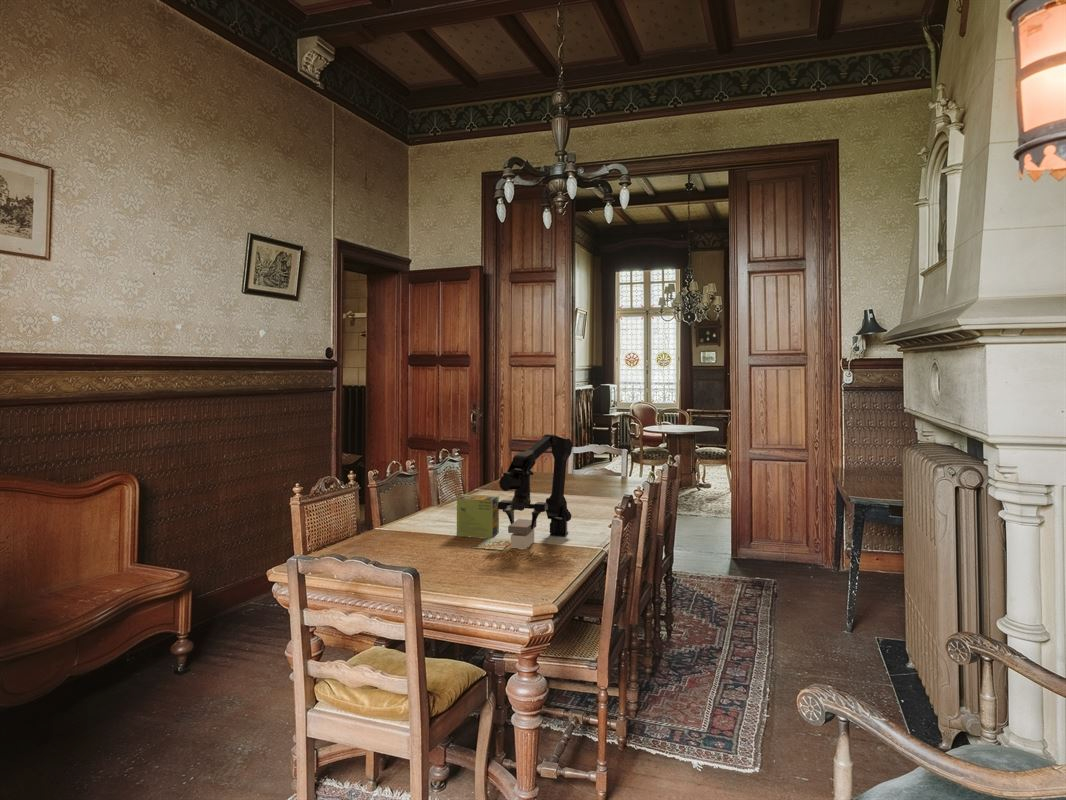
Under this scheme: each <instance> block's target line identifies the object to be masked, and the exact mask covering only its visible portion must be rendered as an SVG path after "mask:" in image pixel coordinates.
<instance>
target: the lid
mask: <svg viewBox="0 0 1066 800" xmlns="http://www.w3.org/2000/svg"><path fill="white" fill-rule="evenodd" d="M531 524H532V519H525V518H523V519H522V518H518V519H516V520H514V522H513V523H512V524H511V523H510V525H507V533H508V534H513V533H517V534H528V533H529V532H530V531H532V530H533V529H534V530H535V528H536V527H537V521H536V522H535V525H534V528H533V529H532V528H531Z"/></svg>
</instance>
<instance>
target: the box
mask: <svg viewBox="0 0 1066 800" xmlns="http://www.w3.org/2000/svg"><path fill="white" fill-rule="evenodd" d="M510 539H511V544H510V549H511V548H523V549H522V550H524V549H526V548H527V547H528V548H529V547H531V546H532V545H533V544H534V543H535V528H534V529H533V530H532V531H530V532H529V533H528V534H517V533H511V534H510ZM533 542H534V543H533ZM532 543H533V544H532ZM531 544H532V545H531ZM530 545H531V546H530ZM528 548H527V549H528ZM527 549H526V550H527Z"/></svg>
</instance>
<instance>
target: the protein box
mask: <svg viewBox="0 0 1066 800" xmlns="http://www.w3.org/2000/svg"><path fill="white" fill-rule="evenodd" d="M499 502H500V496H499V495H489V494H488V495H487V494H486V495H484V494H463V495H461V496H460V497H458V498H456V537H462V536H471V537H470V538H479V537H486V538H485V539H487V538H495V536H497V535H498V534H499V533H500V510H499V509H497V505H498V503H499Z"/></svg>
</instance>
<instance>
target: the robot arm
mask: <svg viewBox="0 0 1066 800" xmlns="http://www.w3.org/2000/svg"><path fill="white" fill-rule="evenodd" d="M542 436H543V437H541V438H540V439H539V440H538V441H536V442H535V444H533V445H532V446H530V447H529V448H528V449H527V450H524V451H521V452H519V453H517V454H515V455H514V456H513V458H512V460H511V462H510V465H509V467H508V468H507V471H506V472H503V476H501V477H500V479H499V482H498V484H499V487H500V489H501V490H502V491H504V492H509V491H513V490H514V495H513V497H512V499H510V500H509V499H501V500H499V503H498V505H497V509H499V511H500V510H501V511H502V512H504V513H505V514H506V515H507V517H508V520H509V522H510V523H509V524H510V525H511V524H512V523H513V522H515V511H521V512H522V511H524V510H525V509H527V510H528V509H529V510H530V509H531V510H533V511H531V520H532V524H531V528H532V529H533V528H534V525H535V522H536V523H537V519H538V517H539V515H540V514H541V513H545V514H546V517H547V519H548V520H550V522H549V536H554V537H555V536H556V537H558V536H559V537H566V536H567V535H568V534H569V531H568V522H569V521H571V520H572V513H571V512H570V511H569V510H568V502H567V500H566V498H565V495H564V494H565V485H566V484H565V483H566V474H567V471H566V470H567V461H568V459H569V457H570V456H571V455H572V449H573V446H574V445H573V441H572V440H571V439H570V438H569V437H568V438H566V437H565V438H564V437H560V436H558V435H555V434H551V433H545V434H544V435H542ZM549 448H551V454H552V456H553V459H554V461H553V462H554V464H553V471H552V473H553V475H552V484H551V485H552V486H551V494H550V496H549V497H547V498H546V499H545V501H537V502H535V503H532V502H531V492H532V489H531V476H534V474H535V473H534V472H533V471H532V469H533V468H534V467H535V465H536V462H537V459H538V458H540V457H541V456H542V455H543V454H544V453H545V452H546V451H548V450H549ZM534 529H535V528H534Z"/></svg>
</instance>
